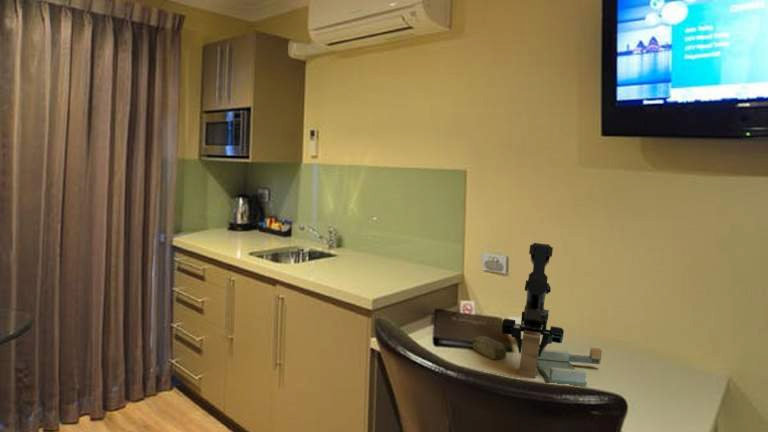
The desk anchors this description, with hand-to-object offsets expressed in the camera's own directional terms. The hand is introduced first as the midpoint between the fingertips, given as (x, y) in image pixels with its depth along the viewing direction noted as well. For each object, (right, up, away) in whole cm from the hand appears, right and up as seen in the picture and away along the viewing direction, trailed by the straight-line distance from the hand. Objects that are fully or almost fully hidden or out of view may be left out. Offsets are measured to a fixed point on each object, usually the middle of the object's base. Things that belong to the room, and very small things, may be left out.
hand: (529, 354), depth 153 cm
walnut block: (0, -6, +2) cm, 7 cm away
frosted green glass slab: (+11, -7, +5) cm, 14 cm away
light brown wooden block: (+16, -5, +11) cm, 20 cm away
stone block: (-9, -5, +16) cm, 19 cm away
